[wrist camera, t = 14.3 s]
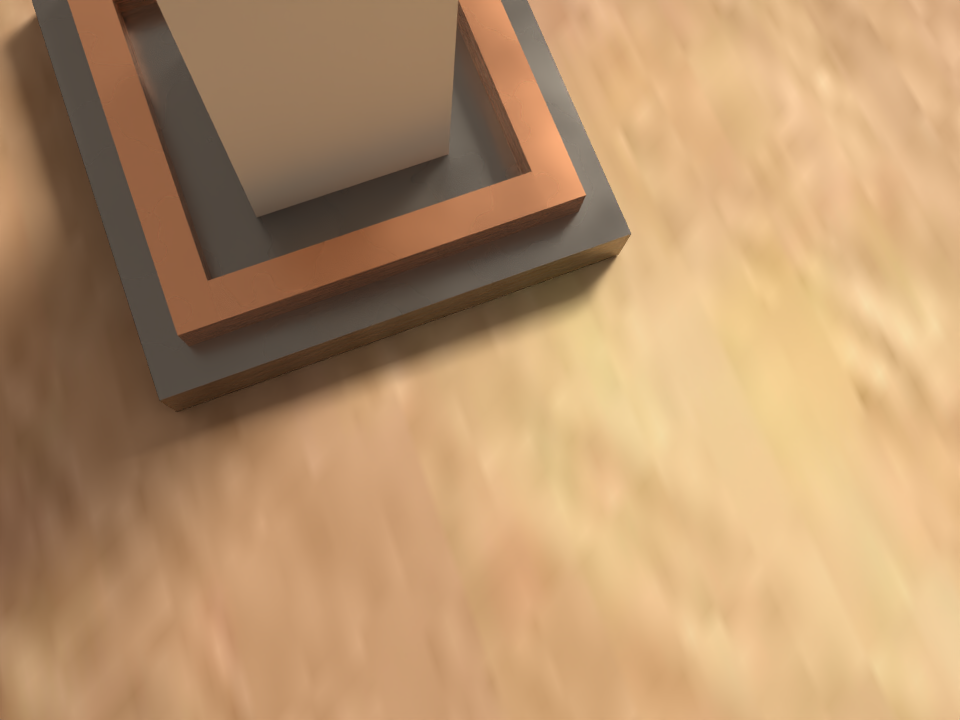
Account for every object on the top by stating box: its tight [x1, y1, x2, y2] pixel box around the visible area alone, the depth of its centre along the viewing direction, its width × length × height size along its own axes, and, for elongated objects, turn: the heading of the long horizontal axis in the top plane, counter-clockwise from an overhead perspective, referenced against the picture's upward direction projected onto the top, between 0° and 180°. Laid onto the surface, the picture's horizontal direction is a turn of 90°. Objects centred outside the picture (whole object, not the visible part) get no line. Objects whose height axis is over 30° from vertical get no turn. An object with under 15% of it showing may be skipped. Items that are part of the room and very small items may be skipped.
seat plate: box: [32, 0, 631, 412], centre depth 22 cm, size 12×12×4 cm
